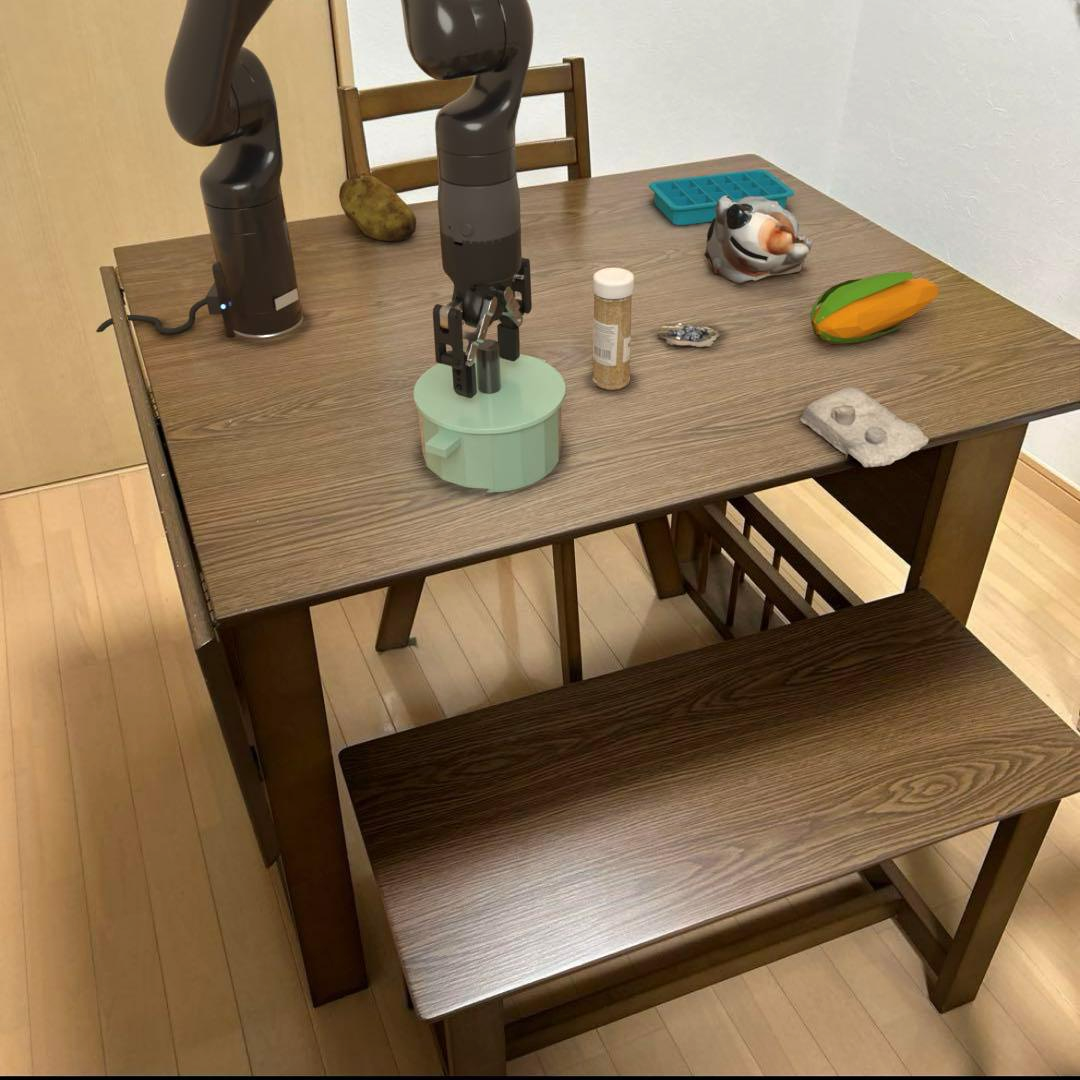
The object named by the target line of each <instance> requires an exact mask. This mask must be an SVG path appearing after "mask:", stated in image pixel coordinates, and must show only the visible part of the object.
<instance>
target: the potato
mask: <svg viewBox="0 0 1080 1080" xmlns="http://www.w3.org/2000/svg"><path fill="white" fill-rule="evenodd" d="M338 198H339V202H340V206H341V209H342V211H343V213H344V215H345V217H347V219H348V220H349V221H351V222H352V223H354V224H356V225H357V226H358V227H359V229H360V231H361V232H362V233H363V234H364V235H365V236H367V237H370V238H371V239H374V240H377V241H382V242H383V241H384V242H397V241H405V240H406V239H408V238H410V237H411V236H413V235H414V234H415V232H416V229H417V218H416V216H415V213H414V212H413V210H412V208H411V207H410V206H409V205H408V204H407V203H406V202H405V201H404V200H403V199H402V198H401V196H399V194H397V191H396V190H394V189H392V188H391V186H389V185H387V184H385V183H384V182H382V181H381V180H380V179H379V178H377V177H375V176H374V175H370V174H366V173H361V174H360V173H359V174H354V175H352V176H351V177H348V178H347V179H346V180H344V181H343V182H342V184H341V185H340V187H339V194H338Z"/></svg>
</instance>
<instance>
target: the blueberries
mask: <svg viewBox="0 0 1080 1080" xmlns="http://www.w3.org/2000/svg"><path fill="white" fill-rule="evenodd" d="M656 335H659V336H660V338H662V339H665V340H666V341H665V342H666V344H669V345H670V346H673V345H676V346H691V347H697V348H702V347H711V346H712V345H713V344H715V342H714V341H716V340H717V339H718V338H719V337H720V333H719V331H717V330H715V329H713V328H710V327H708V326H698V325H694V326H692V325H691V324H685V325H684V324H682V323H681V322H678V324H676V323H675V324H671V323H669V324H664V325H662V326H660V328H659V329H658V331H657V332H656Z"/></svg>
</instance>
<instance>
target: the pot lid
mask: <svg viewBox="0 0 1080 1080" xmlns="http://www.w3.org/2000/svg"><path fill="white" fill-rule="evenodd" d="M530 356H531V355H526V354H522V353H520V357H519V358H518V359H517V360H516V361H510V360H506V359H502V358H501V357H500V349H499V343H498V340H496V339H491V338H485V340H484V342H483V343H482V344H479V345H478V349H477V352H476V356H475V359H474V363H475V369H476V385H477V394H476V395H475V396H473V397H472V398H467V397H464V396H460V395H458V394H456V392H455V391H454V388H453V375H452V367H451V366H448V365H444V364H439V363H436V364H434V365H433V366H432V367H430V368H429V369H427V370H426V371H424V372H423V373H422V374H421V375H420V377H418V379H417V381H415V384H414V387H413V394H412V395H413V403H414V405H415V407H416V409H417V412H418V411H419V412H420V413H421V414H422V415H423V416H424V417H425V418H426V419H428V420H429V421H431V422H432V423H434V424H436V425H438V426H441V427H443V428H446V429H449V430H453V431H457V432H463V433H471V434H500V433H508V432H513V431H518V430H521V429H525V428H528V427H531V426H534V425H536V424H538V423H540V422H542V421H544V420H546V419H547V418H549V417H550V416H552V415H553V414H554V413H555V412H556V411H557V410H558V409H559V408H560V407H561V408H562V405H563V403H564V402H565V399H566V390H567V389H566V383H565V380H564V377H563V376H562V374H561V373H560V372H559V371H558V370H557V369H556V368H555V367H554V366H552V365H550V364H549V363H548V362H547V363H545V362H544V361H541V360H539V359H536V358H537V357H536V358H534V357H535V356H532V357H530Z"/></svg>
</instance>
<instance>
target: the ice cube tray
mask: <svg viewBox="0 0 1080 1080" xmlns="http://www.w3.org/2000/svg"><path fill="white" fill-rule="evenodd" d="M648 188H649V189H650V190H651V191H652V192H653V198H654V200H653V201H654V205H655V206H656V207H657V209H659V210H660V212H661V213H663V215H665V216H666V218H667V219H668V220H669V221H670V222H671V223H672V224H673V225H676V226H686V225H694V224H702V223H709V222H711V223H712V220H713V219H714V218H715V217H716V212H715V209H716V205H717V201H718V199H720V198H721V197H723V196H725V195H728V196H729V197H730V199H731V200H732V201H734V202H737V201H738V200H740V199H741V198H744V197H748V196H759V197H764V198H766V199H768V200H770V201H777V202H779V203H780V206H781V207H782V208H783V209H786V205H787V201H788V198H791V197H793V196H794V195H795V194H794V193H795V191H794V190H793V189H791V188H790V187H789V186H788V185H787V184H786V183H785V182H783V181H782V180H780V179H779V178H778V177H776V176H775V175H774V174H773V173H771V172H770V171H769V170H766V169H762V168H761V169H760V168H757V169H748V170H739V171H730V172H723V173H715V174H707V175H698V176H697V175H696V176H690V177H681V178H680V177H679V178H672V179H664V180H663V179H662V180H656V181H651V182H649V184H648Z"/></svg>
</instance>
